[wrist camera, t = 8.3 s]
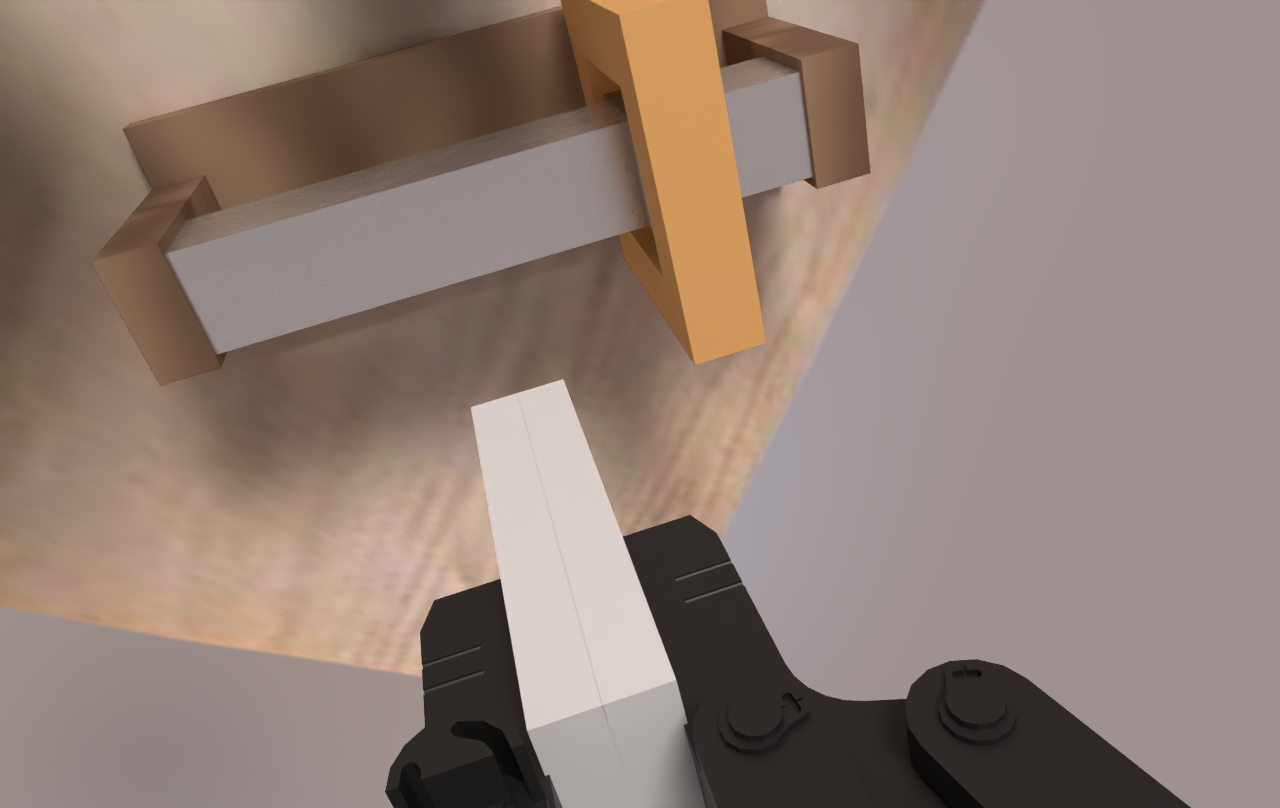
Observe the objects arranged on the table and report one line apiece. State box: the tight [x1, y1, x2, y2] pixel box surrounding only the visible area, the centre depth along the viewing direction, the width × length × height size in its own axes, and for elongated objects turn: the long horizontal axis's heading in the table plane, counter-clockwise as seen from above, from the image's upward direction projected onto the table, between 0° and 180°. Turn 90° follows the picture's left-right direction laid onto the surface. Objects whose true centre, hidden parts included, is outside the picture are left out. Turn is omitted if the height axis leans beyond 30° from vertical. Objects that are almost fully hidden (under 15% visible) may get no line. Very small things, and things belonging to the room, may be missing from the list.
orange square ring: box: [561, 0, 766, 365], centre depth 33 cm, size 2×11×11 cm, turn 13°
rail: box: [165, 56, 814, 355], centre depth 32 cm, size 22×4×4 cm, turn 103°
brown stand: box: [91, 0, 870, 386], centre depth 34 cm, size 25×9×10 cm, turn 103°
